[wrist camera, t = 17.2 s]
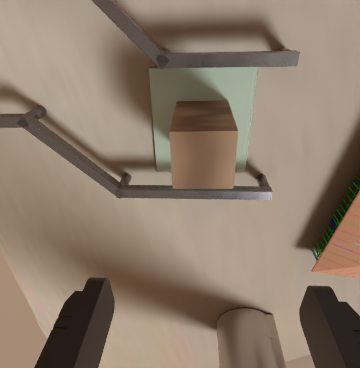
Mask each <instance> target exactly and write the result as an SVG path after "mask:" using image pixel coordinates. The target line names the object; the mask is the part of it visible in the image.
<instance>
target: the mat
mask: <svg viewBox="0 0 360 368" xmlns="http://www.w3.org/2000/svg"><path fill="white" fill-rule="evenodd" d="M148 69H149V81H150V93H151V106H152V118H153V130H154V143H155V155H156V167H157V171H172V170H171V153H170V136H169V131H170V127H171V123H172V119H173V115H174V111H175V107H176V102H177V101H225V100H228V102H229V105H230V108H231V111H232V114H233V117H234V120H235V123H236V126H237V129H238V140H237V152H236V164H235V172H245V168H246V160H247V151H248V143H249V135H250V127H251V119H252V111H253V102H254V94H255V86H256V78H257V70H258V67H220V68H163V69H162V70H161V69H160V68H148Z"/></svg>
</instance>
